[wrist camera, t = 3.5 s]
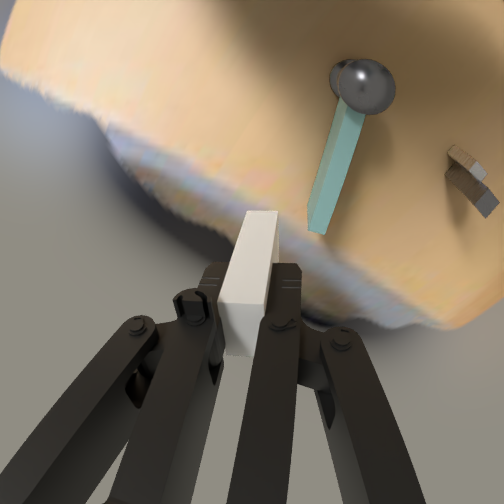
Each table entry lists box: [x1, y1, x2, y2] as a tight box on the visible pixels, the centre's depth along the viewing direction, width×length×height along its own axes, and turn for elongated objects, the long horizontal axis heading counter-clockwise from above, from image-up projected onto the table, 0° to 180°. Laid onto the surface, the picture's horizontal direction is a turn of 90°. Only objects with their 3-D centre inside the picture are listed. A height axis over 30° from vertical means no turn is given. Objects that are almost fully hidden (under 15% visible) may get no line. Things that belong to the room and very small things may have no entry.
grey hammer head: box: [330, 59, 395, 115], centre depth 21 cm, size 4×4×7 cm
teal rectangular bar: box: [307, 67, 366, 235], centre depth 25 cm, size 14×3×5 cm, turn 169°
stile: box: [445, 145, 500, 218], centre depth 24 cm, size 3×3×7 cm
